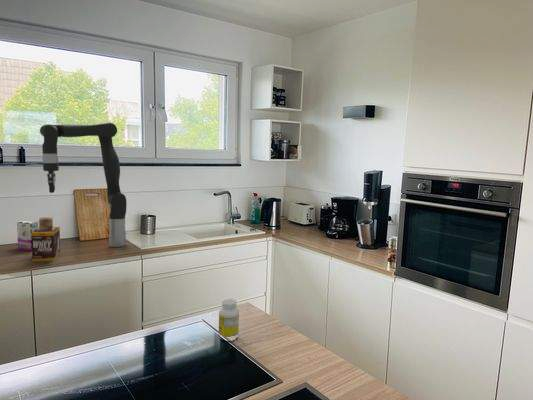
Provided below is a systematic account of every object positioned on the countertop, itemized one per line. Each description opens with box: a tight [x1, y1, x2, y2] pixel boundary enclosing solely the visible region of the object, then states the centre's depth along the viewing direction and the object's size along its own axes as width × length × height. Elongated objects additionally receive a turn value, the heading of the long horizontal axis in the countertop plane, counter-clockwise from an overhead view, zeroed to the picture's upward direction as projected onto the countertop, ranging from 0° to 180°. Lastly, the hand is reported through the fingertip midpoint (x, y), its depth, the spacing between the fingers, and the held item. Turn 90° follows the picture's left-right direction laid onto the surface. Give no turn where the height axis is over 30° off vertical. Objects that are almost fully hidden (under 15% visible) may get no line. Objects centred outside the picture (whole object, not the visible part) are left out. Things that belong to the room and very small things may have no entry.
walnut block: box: [38, 216, 54, 231], centre depth 213 cm, size 6×6×6 cm
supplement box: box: [31, 226, 61, 263], centre depth 214 cm, size 10×15×16 cm
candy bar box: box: [16, 219, 39, 252], centre depth 228 cm, size 11×5×16 cm, turn 70°
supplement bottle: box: [218, 298, 240, 337], centre depth 133 cm, size 7×7×13 cm
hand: (52, 191), depth 216 cm, fingers open, 8 cm apart
